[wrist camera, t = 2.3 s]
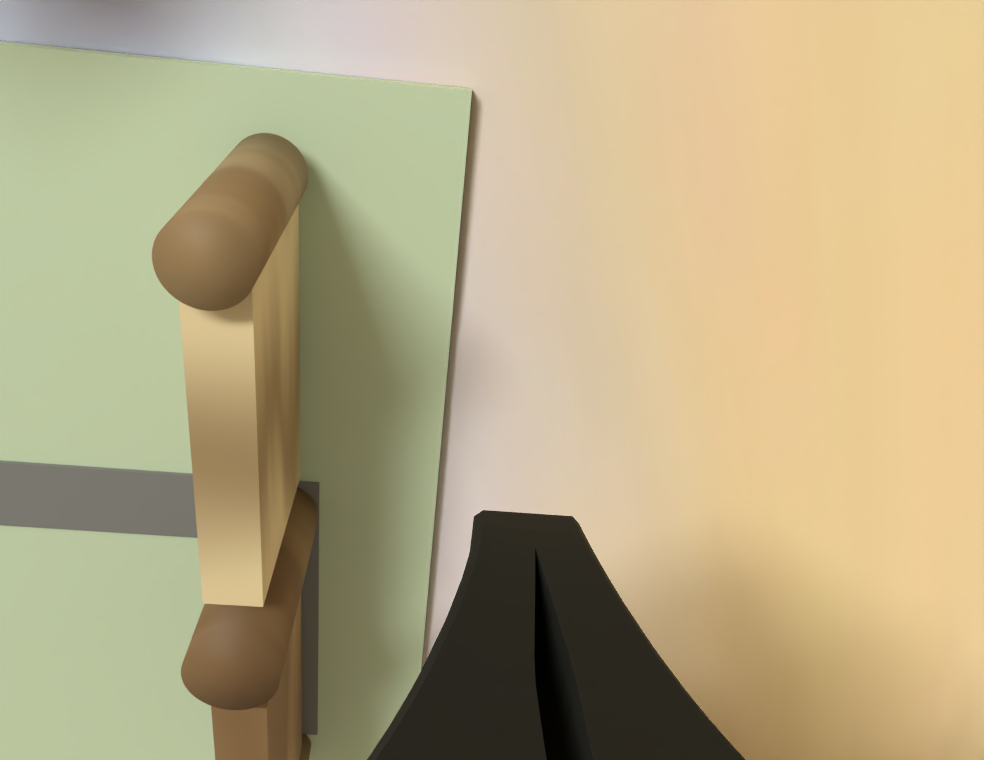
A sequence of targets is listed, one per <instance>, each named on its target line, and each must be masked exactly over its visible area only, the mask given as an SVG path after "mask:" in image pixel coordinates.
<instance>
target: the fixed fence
mask: <svg viewBox="0 0 984 760" xmlns="http://www.w3.org/2000/svg"><path fill="white" fill-rule="evenodd" d="M318 519H319V512H318V508H317V505H316V503H315V501H314V500H313V499H312V497H311V496H310V495H309V494H308V493H307V492H305V491H304V490H303V489H301V488H299V487H297V490H296V494H295V497H294V501H293V504H292V508H291V511H290V515H289V518H288V522H287V525H286V529H285V532H284V536H283V539H282V543H281V546H280V550H279V553H278V557H277V560H276V564H275V567H274V571H273V574H272V578H271V581H270V585H269V588H268V592H267V595H266V599H265V602H264V606H263V607H254V606H237V605H220V604H204V606H203V609H202V612H201V614H200V617H199V620H198V622H197V625H196V628H195V630H194V633H193V636H192V639H191V641H190V644H189V647H188V649H187V652H186V655H185V658H184V660H183V663H182V666H181V678H182V681H183V683H184V685H185V687H186V688H187V690H188V691H189V692H190V693H191V694H192V695H193V696H194V697H196V698H197V699H199V700H200V701H202V702H204V703H206V704H208V705H210V706H211V713H212V725H213V738H214V750H215V760H309V755H310V750H311V741H310V739H309V737H308V736H307V735H306V734H302V661H301V591H302V587H303V582H304V578H305V574H306V570H307V566H308V561H309V557H310V553H311V549H312V545H313V540H314V536H315V532H316V528H317V524H318Z"/></svg>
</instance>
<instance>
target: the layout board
mask: <svg viewBox="0 0 984 760" xmlns="http://www.w3.org/2000/svg"><path fill="white" fill-rule="evenodd" d="M471 96H472V88H462V87H452V86H442V85H432V84H422V83H412V82H402V81H393V80H383V79H373V78H363V77H353V76H343V75H333V74H323V73H313V72H303V71H293V70H283V69H274V68H264V67H254V66H244V65H234V64H224V63H214V62H204V61H194V60H184V59H174V58H164V57H155V56H145V55H135V54H125V53H115V52H105V51H95V50H85V49H75V48H65V47H55V46H45V45H36V44H26V43H16V42H6V41H0V760H215V750H214V738H213V725H212V713H211V706H210V705H208V704H206V703H204V702H202V701H200V700H199V699H197V698H196V697H194V696H193V695H192V694H191V693H190V692H189V691H188V690H187V688H186V687H185V685H184V683H183V681H182V678H181V666H182V663H183V660H184V658H185V655H186V652H187V649H188V647H189V644H190V641H191V639H192V636H193V633H194V630H195V628H196V625H197V622H198V620H199V617H200V614H201V612H202V609H203V606H204V604H203V599H202V587H201V574H200V562H199V549H198V536H197V524H196V511H195V499H194V486H193V474H192V461H191V448H190V436H189V423H188V411H187V398H186V385H185V373H184V360H183V348H182V335H181V323H180V310H179V301H178V300H177V299H175V298H174V297H173V296H172V295H171V294H169V292H168V291H167V290H166V289H165V288H164V287H163V286H162V284H161V283H160V281H159V280H158V278H157V276H156V273H155V271H154V267H153V263H152V248H153V244H154V241H155V238H156V236H157V234H158V233H159V232H160V230H161V229H162V228H163V227H164V226H165V225H166V223H167V222H168V221H169V220H170V219H171V218H172V217H173V216H174V215H175V213H176V212H177V211H178V210H179V209H180V208H181V207H182V206H183V205H184V203H185V202H186V201H187V200H188V199H189V198H190V197H191V196H192V195H193V193H194V192H195V191H196V190H197V189H198V188H199V187H200V186H201V185H202V183H203V182H204V181H205V180H206V179H207V178H208V177H209V176H210V175H211V173H212V172H213V171H214V170H215V169H216V168H217V167H218V166H219V164H220V163H221V162H222V161H223V160H224V159H225V158H226V157H227V156H228V154H229V153H230V152H231V151H232V150H233V149H234V148H235V147H236V146H237V145H238V143H239V142H240V141H242V140H243V139H244V138H246V137H248V136H250V135H253V134H257V133H271V134H276V135H279V136H281V137H283V138H285V139H287V140H289V141H290V142H291V143H293V144H294V145H295V146H296V147H297V148H298V150H299V151H300V152H301V154H302V155H303V157H304V159H305V161H306V164H307V168H308V184H307V187H306V190H305V192H304V194H303V196H302V198H301V199H300V201H299V331H300V480H299V483H298V487H299V488H301V489H303V490H304V491H305V492H307V493H308V494H309V495H310V496H311V497H312V499H313V500H314V501H315V503H316V505H317V508H318V512H319V519H318V524H317V528H316V532H315V536H314V540H313V545H312V549H311V553H310V557H309V561H308V566H307V570H306V574H305V578H304V582H303V587H302V591H301V661H302V734H306V735H307V736H308V737H309V739H310V741H311V750H310V755H309V760H367V759H368V757H369V756H370V754H371V753H372V751H373V750H374V748H375V747H376V745H377V744H378V742H379V741H380V739H381V738H382V736H383V735H384V733H385V732H386V730H387V729H388V727H389V726H390V724H391V722H392V721H393V719H394V717H395V716H396V714H397V712H398V711H399V709H400V707H401V706H402V704H403V702H404V701H405V699H406V697H407V696H408V694H409V692H410V690H411V689H412V687H413V685H414V683H415V681H416V679H417V678H418V676H419V674H420V672H421V666H422V654H423V643H424V632H425V620H426V609H427V597H428V586H429V575H430V563H431V552H432V540H433V529H434V518H435V506H436V495H437V484H438V472H439V461H440V449H441V438H442V427H443V415H444V404H445V392H446V381H447V370H448V358H449V347H450V336H451V324H452V313H453V301H454V290H455V279H456V267H457V256H458V244H459V233H460V222H461V210H462V199H463V188H464V176H465V165H466V153H467V142H468V131H469V119H470V108H471Z"/></svg>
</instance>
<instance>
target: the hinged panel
mask: <svg viewBox="0 0 984 760" xmlns="http://www.w3.org/2000/svg"><path fill="white" fill-rule="evenodd" d="M307 184H308V168H307V164H306V161H305V159H304V157H303V155H302V154H301V152H300V151H299V150H298V148H297V147H296V146H295V145H294V144H293V143H291V142H290V141H289V140H287V139H285V138H283V137H281V136H279V135H276V134H271V133H257V134H253V135H250V136H248V137H246V138H244V139H243V140H242V141H240V142H239V143H238V145H237V146H236V147H235V148H234V149H233V150H232V151H231V152H230V153H229V154H228V156H227V157H226V158H225V159H224V160H223V161H222V162H221V163H220V164H219V166H218V167H217V168H216V169H215V170H214V171H213V172H212V173H211V175H210V176H209V177H208V178H207V179H206V180H205V181H204V182H203V183H202V185H201V186H200V187H199V188H198V189H197V190H196V191H195V192H194V193H193V195H192V196H191V197H190V198H189V199H188V200H187V201H186V202H185V203H184V205H183V206H182V207H181V208H180V209H179V210H178V211H177V212H176V213H175V215H174V216H173V217H172V218H171V219H170V220H169V221H168V222H167V223H166V225H165V226H164V227H163V228H162V229H161V230H160V232H159V233H158V234H157V236H156V238H155V241H154V244H153V248H152V263H153V267H154V271H155V273H156V276H157V278H158V280H159V281H160V283H161V284H162V286H163V287H164V288H165V289H166V290H167V291H168V292H169V294H171V295H172V296H173V297H174V298H175V299H177V300H178V301H179V310H180V323H181V335H182V348H183V360H184V373H185V385H186V398H187V411H188V423H189V436H190V448H191V461H192V474H193V486H194V499H195V511H196V524H197V536H198V549H199V562H200V574H201V587H202V599H203V604H220V605H237V606H254V607H263V606H264V602H265V599H266V595H267V592H268V588H269V585H270V581H271V578H272V574H273V571H274V567H275V564H276V560H277V557H278V553H279V550H280V546H281V543H282V539H283V536H284V532H285V529H286V525H287V522H288V518H289V515H290V511H291V508H292V504H293V501H294V497H295V494H296V490H297V487H298V483H299V480H300V331H299V201H300V199H301V198H302V196H303V194H304V192H305V190H306V187H307Z"/></svg>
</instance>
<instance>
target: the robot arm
mask: <svg viewBox="0 0 984 760" xmlns="http://www.w3.org/2000/svg"><path fill="white" fill-rule="evenodd" d="M367 760H745V759H744V758H743V757H742V756H741V754H740V753H739V752H738V751H737V750H736V749H735V748H734V747H733V746H732V745H731V744H730V742H729V741H728V740H727V739H726V738H725V737H724V736H723V734H722V733H721V732H720V731H719V730H718V729H717V728H716V726H715V725H714V724H713V723H712V722H711V721H710V720H709V718H708V717H707V716H706V715H705V714H704V712H703V711H702V710H701V709H700V708H699V706H698V705H697V704H696V703H695V702H694V700H693V699H692V698H691V696H690V695H689V694H688V693H687V691H686V690H685V689H684V688H683V686H682V685H681V684H680V682H679V681H678V680H677V678H676V677H675V676H674V674H673V673H672V672H671V670H670V669H669V668H668V666H667V665H666V664H665V662H664V661H663V660H662V658H661V657H660V656H659V654H658V653H657V651H656V650H655V649H654V647H653V646H652V644H651V643H650V641H649V640H648V639H647V637H646V636H645V634H644V633H643V631H642V630H641V628H640V627H639V625H638V624H637V622H636V621H635V619H634V618H633V616H632V615H631V613H630V612H629V610H628V608H627V607H626V605H625V604H624V602H623V601H622V599H621V598H620V596H619V594H618V593H617V591H616V590H615V588H614V586H613V585H612V583H611V581H610V580H609V578H608V576H607V574H606V573H605V571H604V569H603V568H602V566H601V564H600V562H599V561H598V559H597V557H596V555H595V554H594V552H593V550H592V548H591V546H590V544H589V542H588V541H587V539H586V537H585V535H584V533H583V531H582V529H581V527H580V525H579V523H578V522H577V521H576V520H575V519H574V518H573V516H559V515H544V514H530V513H515V512H500V511H486V510H483V511H482V512H480V513H479V514H477V515H476V516H474V522H473V530H472V539H471V547H470V553H469V557H468V561H467V564H466V567H465V570H464V574H463V577H462V580H461V582H460V585H459V588H458V590H457V593H456V595H455V598H454V601H453V603H452V606H451V608H450V611H449V614H448V616H447V618H446V621H445V623H444V625H443V627H442V629H441V631H440V633H439V635H438V637H437V640H436V642H435V644H434V646H433V648H432V650H431V652H430V654H429V656H428V658H427V660H426V662H425V664H424V666H423V668H422V670H421V672H420V674H419V676H418V678H417V679H416V681H415V683H414V685H413V687H412V689H411V690H410V692H409V694H408V696H407V697H406V699H405V701H404V702H403V704H402V706H401V707H400V709H399V711H398V712H397V714H396V716H395V717H394V719H393V721H392V722H391V724H390V726H389V727H388V729H387V730H386V732H385V733H384V735H383V736H382V738H381V739H380V741H379V742H378V744H377V745H376V747H375V748H374V750H373V751H372V753H371V754H370V756H369V757H368V759H367Z"/></svg>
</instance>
